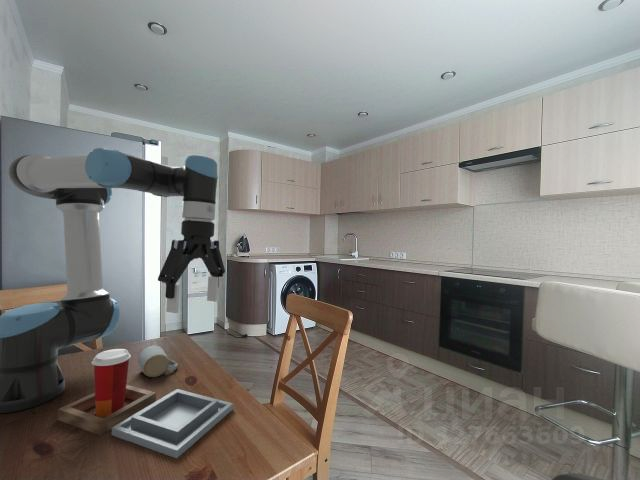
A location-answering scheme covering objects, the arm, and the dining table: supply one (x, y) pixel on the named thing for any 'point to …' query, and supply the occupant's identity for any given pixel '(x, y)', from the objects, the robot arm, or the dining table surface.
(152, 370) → the ceramic mug
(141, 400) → the walnut collar
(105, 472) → the dining table surface
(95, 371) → the paper cup
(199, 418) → the grey tray
